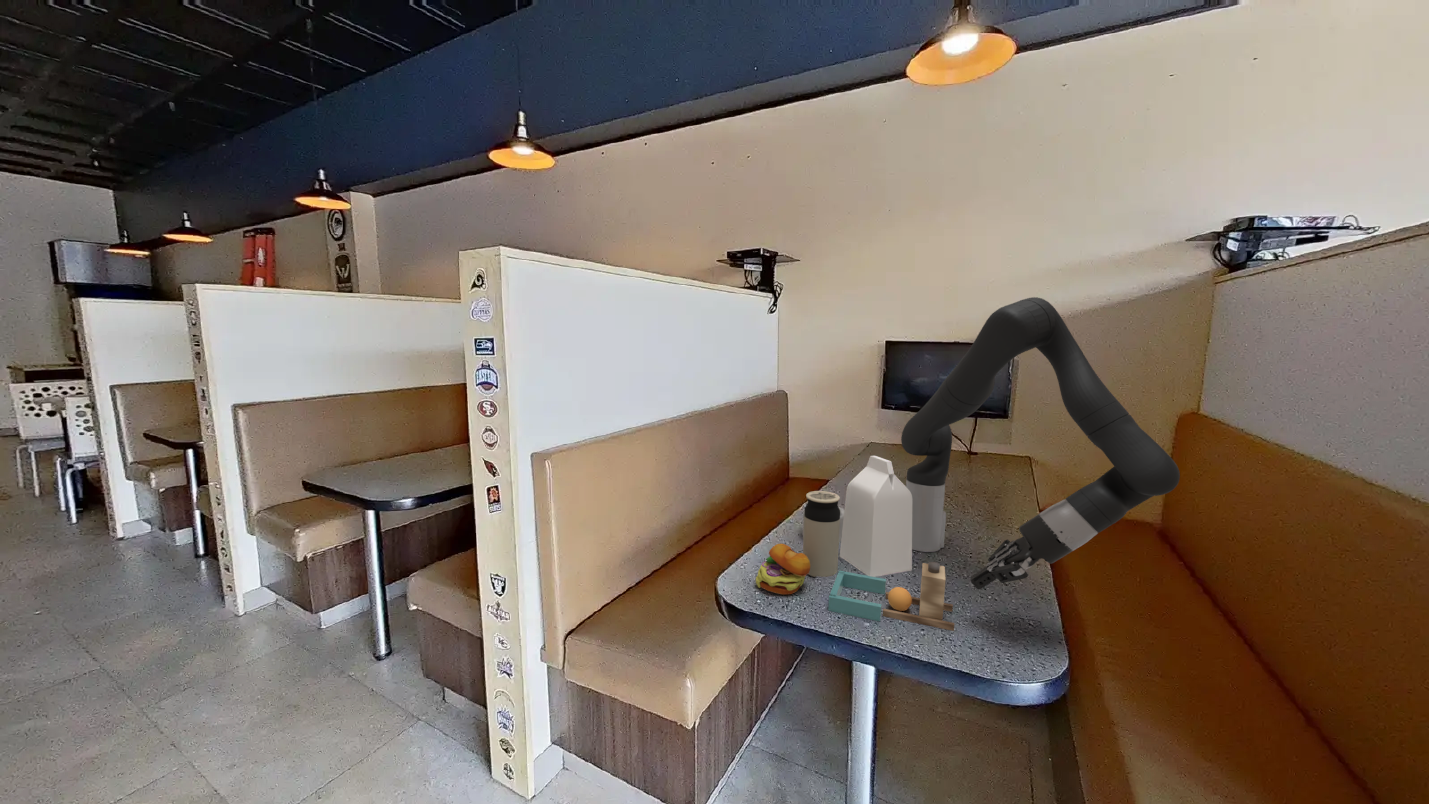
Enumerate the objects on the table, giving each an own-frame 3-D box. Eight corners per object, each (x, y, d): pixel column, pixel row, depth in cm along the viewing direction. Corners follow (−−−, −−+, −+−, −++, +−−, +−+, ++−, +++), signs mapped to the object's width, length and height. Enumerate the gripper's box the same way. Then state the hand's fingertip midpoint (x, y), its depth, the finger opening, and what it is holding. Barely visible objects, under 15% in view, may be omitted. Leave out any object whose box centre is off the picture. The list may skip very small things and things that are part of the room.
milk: (839, 558, 126) (844, 454, 123) (878, 552, 130) (884, 451, 127) (869, 580, 115) (876, 466, 112) (911, 573, 119) (919, 463, 116)
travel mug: (840, 579, 116) (844, 501, 113) (805, 578, 116) (808, 501, 113) (833, 563, 124) (836, 490, 121) (799, 563, 124) (802, 490, 121)
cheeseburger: (750, 575, 117) (761, 533, 116) (795, 584, 118) (806, 543, 117) (758, 597, 107) (770, 551, 106) (806, 607, 108) (819, 562, 107)
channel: (952, 610, 102) (952, 604, 102) (954, 631, 95) (954, 625, 95) (885, 597, 107) (886, 591, 107) (882, 616, 100) (882, 610, 99)
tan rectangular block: (941, 610, 102) (945, 559, 101) (942, 625, 96) (946, 572, 95) (919, 605, 103) (923, 556, 102) (919, 620, 98) (922, 568, 97)
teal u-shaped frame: (885, 594, 109) (886, 579, 109) (880, 624, 98) (881, 607, 97) (838, 585, 113) (839, 570, 112) (828, 613, 101) (828, 596, 101)
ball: (901, 602, 105) (902, 581, 104) (915, 613, 101) (917, 592, 100) (882, 605, 104) (884, 584, 103) (896, 616, 99) (898, 595, 99)
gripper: (1034, 503, 97) (957, 554, 103) (1049, 526, 85) (961, 583, 91) (1064, 534, 96) (984, 584, 102) (1084, 563, 84) (992, 618, 90)
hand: (973, 583), depth 96 cm, fingers closed
